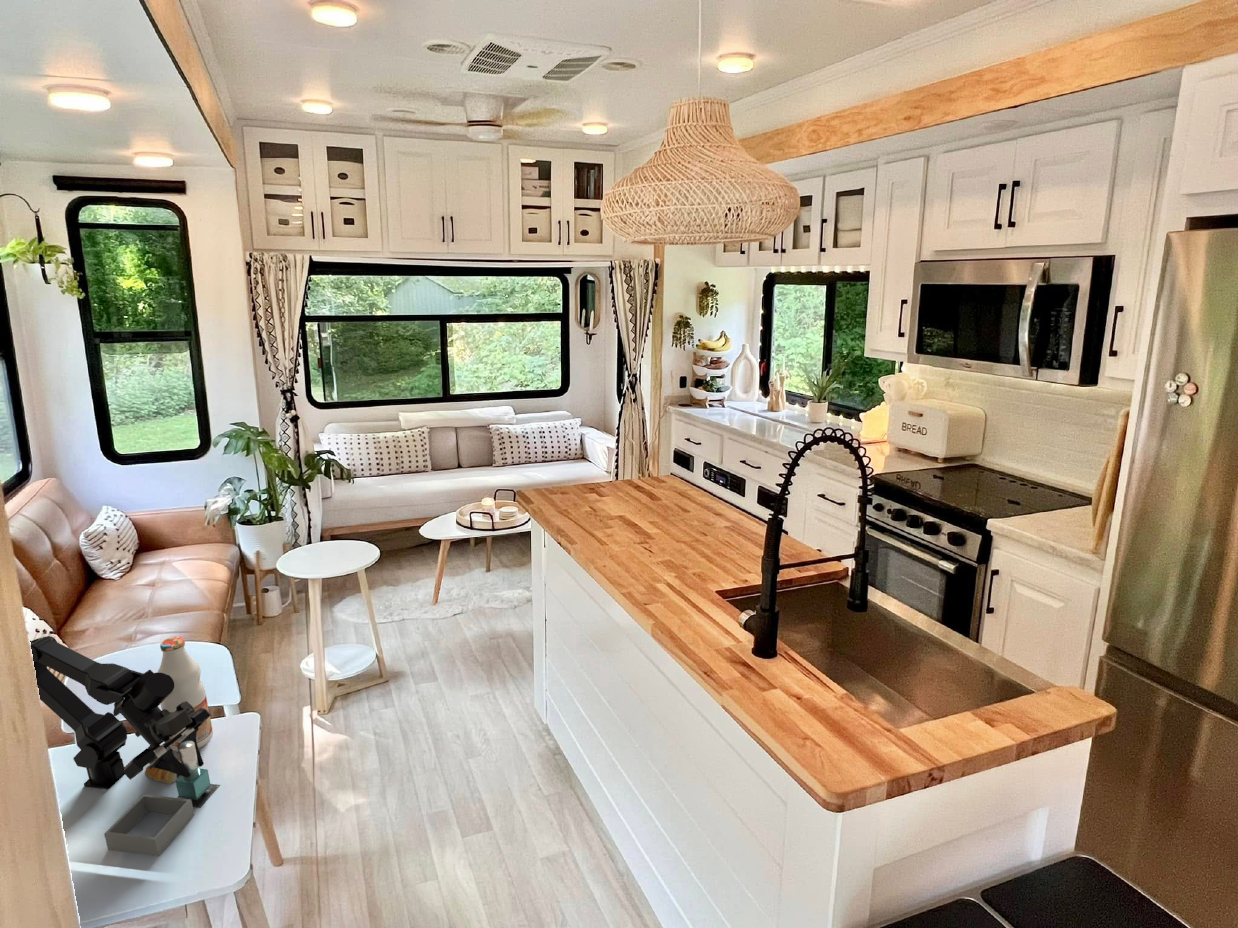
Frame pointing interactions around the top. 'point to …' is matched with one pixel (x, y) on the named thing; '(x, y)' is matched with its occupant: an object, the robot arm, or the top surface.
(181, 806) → the bin
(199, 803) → the stud stand
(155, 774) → the pastry
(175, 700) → the fruit juice
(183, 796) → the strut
